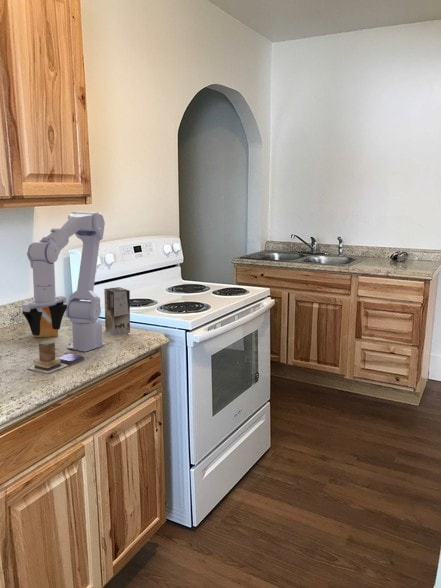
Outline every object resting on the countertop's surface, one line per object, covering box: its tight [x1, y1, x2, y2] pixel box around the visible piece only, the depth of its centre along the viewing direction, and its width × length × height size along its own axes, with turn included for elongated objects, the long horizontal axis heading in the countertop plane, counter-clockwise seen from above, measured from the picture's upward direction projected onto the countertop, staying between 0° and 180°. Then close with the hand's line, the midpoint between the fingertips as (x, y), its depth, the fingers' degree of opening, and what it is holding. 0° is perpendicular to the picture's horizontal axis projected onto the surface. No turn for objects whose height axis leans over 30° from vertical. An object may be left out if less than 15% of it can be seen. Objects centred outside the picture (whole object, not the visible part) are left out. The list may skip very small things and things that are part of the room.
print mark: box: [27, 363, 70, 375], centre depth 142 cm, size 8×8×1 cm
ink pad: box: [57, 353, 86, 366], centre depth 148 cm, size 6×6×1 cm
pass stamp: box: [33, 340, 61, 370], centre depth 142 cm, size 5×5×7 cm
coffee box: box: [103, 286, 131, 337], centre depth 181 cm, size 9×6×16 cm
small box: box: [33, 307, 59, 338], centre depth 176 cm, size 8×6×13 cm
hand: (46, 332), depth 141 cm, fingers open, 7 cm apart
